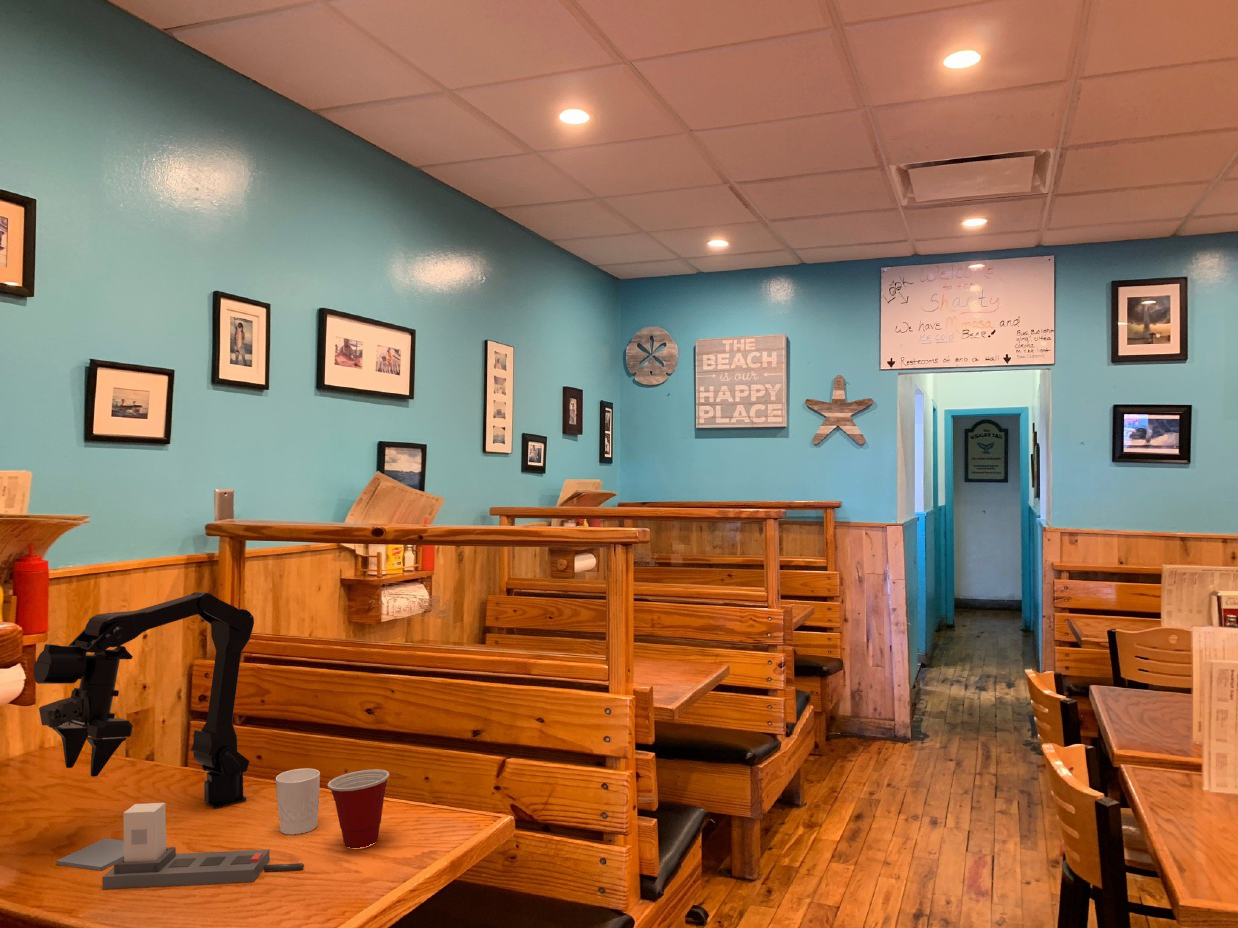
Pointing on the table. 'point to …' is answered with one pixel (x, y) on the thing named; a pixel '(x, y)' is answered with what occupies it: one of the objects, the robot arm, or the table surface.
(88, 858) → the pad
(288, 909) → the table surface
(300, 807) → the white cup
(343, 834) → the plastic cup
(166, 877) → the power strip
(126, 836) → the block
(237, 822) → the table surface
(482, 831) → the table surface
